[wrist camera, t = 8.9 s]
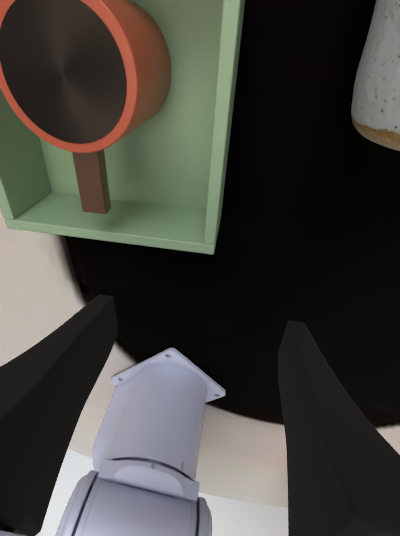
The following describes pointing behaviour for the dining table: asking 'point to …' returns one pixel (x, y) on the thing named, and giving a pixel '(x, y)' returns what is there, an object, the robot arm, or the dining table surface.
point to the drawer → (143, 147)
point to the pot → (83, 78)
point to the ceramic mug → (380, 79)
